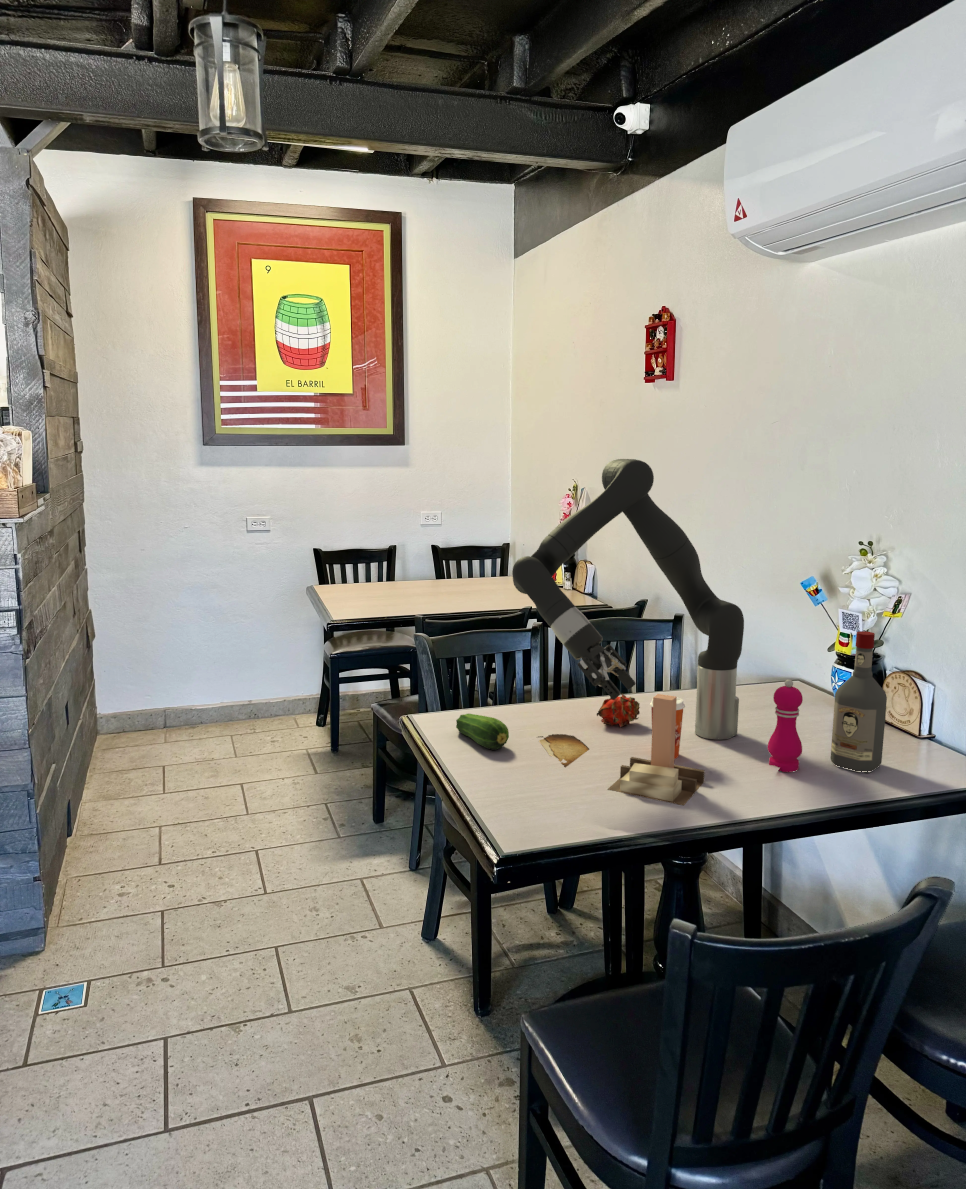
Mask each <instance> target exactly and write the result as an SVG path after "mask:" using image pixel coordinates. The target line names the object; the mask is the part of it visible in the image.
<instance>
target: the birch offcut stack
mask: <svg viewBox="0 0 966 1189" xmlns="http://www.w3.org/2000/svg"><path fill="white" fill-rule="evenodd" d="M681 788H682V781H681V780H678V769H675V768H668V767H660V766H653V765H646V764H638V763H634V765H633V766H632V768H631V769H630V771H629V772H628V773H627V774H626V775H625V776H624V777H622V778H621V779H620V791H624V792H629V793H634V794H639V795H644V796H648V797H653V798H658V799H663V800H668V801H672V802H673V800H674V799H675V798H676V797H677V796H678V795H679V794H680V793H681Z"/></svg>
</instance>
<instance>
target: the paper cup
mask: <svg viewBox="0 0 966 1189" xmlns="http://www.w3.org/2000/svg"><path fill="white" fill-rule="evenodd" d="M676 697H677V701H676V726H675V752H674V760H676V759H678V758H679V754H680V746H681V735H682V725H683V718H684V717H683V716H684V715H683V714H684V709H685V707H686V706H685V703H684V700H683V698H680V697H679V696H676ZM649 706H650V707H651V718H652V717H653V698H652V699H651V702H650V703H649Z"/></svg>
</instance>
